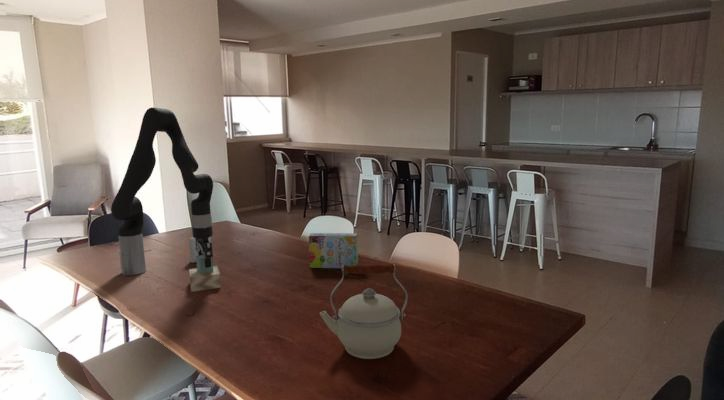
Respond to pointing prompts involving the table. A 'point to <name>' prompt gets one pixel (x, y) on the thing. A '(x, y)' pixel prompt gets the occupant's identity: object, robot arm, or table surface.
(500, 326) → the table surface
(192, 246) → the photo printer
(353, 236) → the snack box
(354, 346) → the kettle
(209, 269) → the teal block
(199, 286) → the birch block
